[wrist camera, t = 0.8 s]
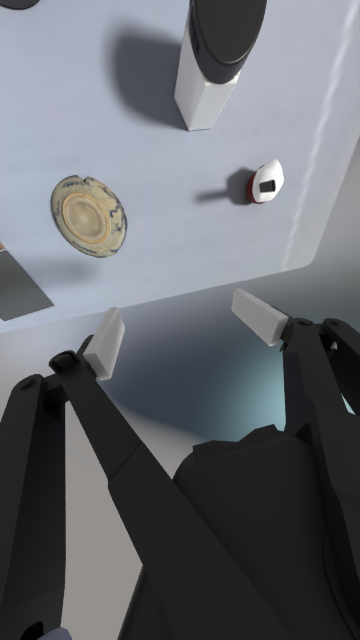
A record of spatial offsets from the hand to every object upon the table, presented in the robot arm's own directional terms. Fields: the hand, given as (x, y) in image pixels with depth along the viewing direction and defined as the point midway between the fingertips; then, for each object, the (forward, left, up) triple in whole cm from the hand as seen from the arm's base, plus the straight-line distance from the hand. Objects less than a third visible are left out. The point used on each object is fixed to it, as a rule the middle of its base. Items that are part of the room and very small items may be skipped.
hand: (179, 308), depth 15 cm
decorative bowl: (-13, -12, -27) cm, 32 cm away
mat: (-6, -39, -26) cm, 47 cm away
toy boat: (-10, +26, -27) cm, 39 cm away
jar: (-25, +15, -27) cm, 40 cm away
